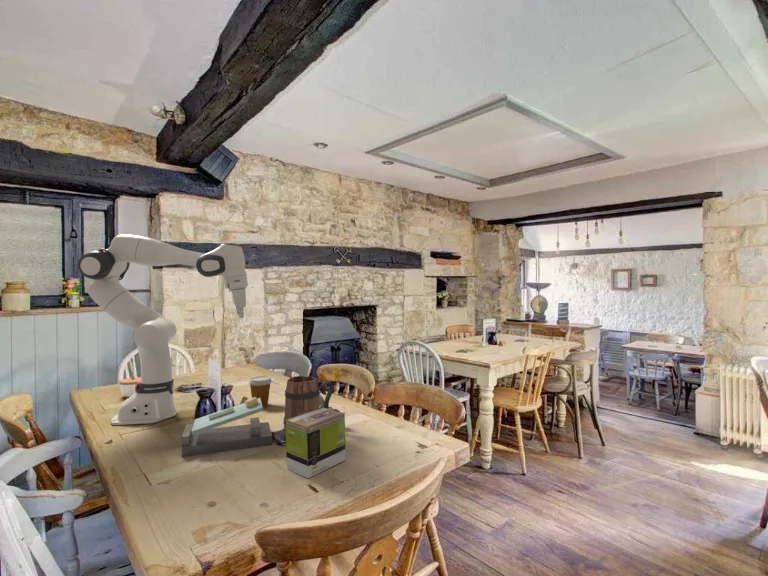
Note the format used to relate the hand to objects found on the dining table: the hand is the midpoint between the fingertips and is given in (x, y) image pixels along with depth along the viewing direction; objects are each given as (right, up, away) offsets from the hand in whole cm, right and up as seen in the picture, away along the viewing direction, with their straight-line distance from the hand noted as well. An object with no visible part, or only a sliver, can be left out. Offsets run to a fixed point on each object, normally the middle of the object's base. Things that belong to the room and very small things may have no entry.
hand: (240, 316), depth 165 cm
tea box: (+39, -41, -47) cm, 73 cm away
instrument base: (+7, -41, -30) cm, 51 cm away
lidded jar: (-61, -40, +26) cm, 77 cm away
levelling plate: (+7, -32, -30) cm, 44 cm away
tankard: (+33, -41, -21) cm, 56 cm away
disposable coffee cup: (+5, -40, +11) cm, 42 cm away
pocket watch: (+34, -41, +3) cm, 53 cm away
